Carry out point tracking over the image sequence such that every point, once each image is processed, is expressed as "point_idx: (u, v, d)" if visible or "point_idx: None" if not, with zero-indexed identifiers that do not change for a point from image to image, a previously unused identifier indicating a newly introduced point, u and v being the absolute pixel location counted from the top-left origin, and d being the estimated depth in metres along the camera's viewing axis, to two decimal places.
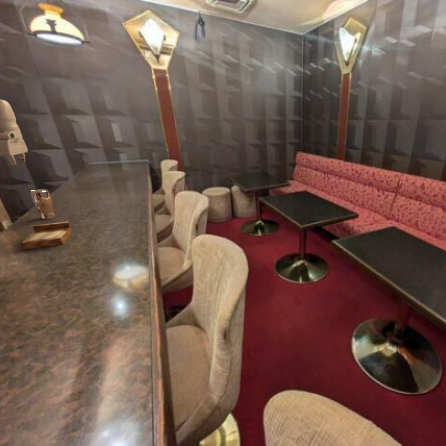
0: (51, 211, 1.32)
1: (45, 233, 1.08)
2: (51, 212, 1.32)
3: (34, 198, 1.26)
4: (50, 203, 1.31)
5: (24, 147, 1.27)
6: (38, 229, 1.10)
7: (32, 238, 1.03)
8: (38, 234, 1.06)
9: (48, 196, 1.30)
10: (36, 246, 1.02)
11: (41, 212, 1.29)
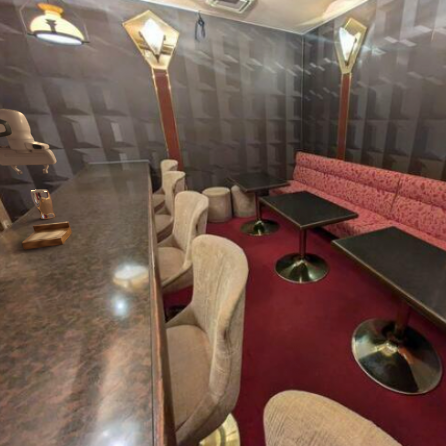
0: (51, 211, 1.32)
1: (45, 233, 1.08)
2: (51, 212, 1.32)
3: (34, 198, 1.26)
4: (50, 203, 1.31)
5: None
6: (38, 229, 1.10)
7: (32, 238, 1.03)
8: (38, 234, 1.06)
9: (48, 196, 1.30)
10: (36, 246, 1.02)
11: (41, 212, 1.29)
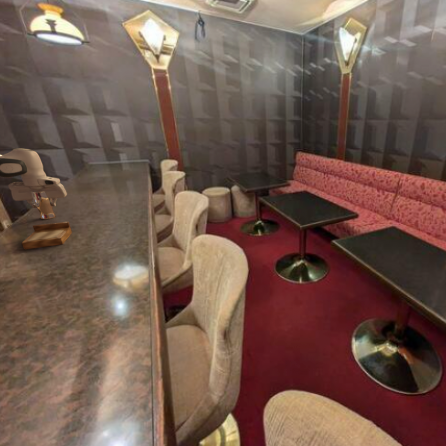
0: (51, 211, 1.32)
1: (45, 233, 1.08)
2: (51, 212, 1.32)
3: (34, 198, 1.26)
4: (50, 203, 1.31)
5: None
6: (38, 229, 1.10)
7: (32, 238, 1.03)
8: (38, 234, 1.06)
9: None
10: (36, 246, 1.02)
11: (41, 212, 1.29)
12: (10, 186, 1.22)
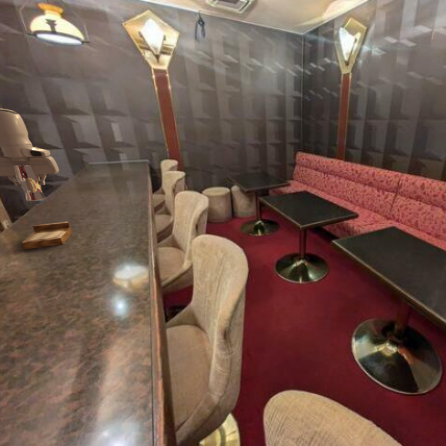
0: (39, 191, 1.06)
1: (45, 233, 1.08)
2: (39, 192, 1.06)
3: (17, 173, 1.00)
4: (38, 181, 1.05)
5: None
6: (38, 229, 1.10)
7: (32, 238, 1.03)
8: (38, 234, 1.06)
9: None
10: (36, 246, 1.02)
11: (26, 192, 1.03)
12: None
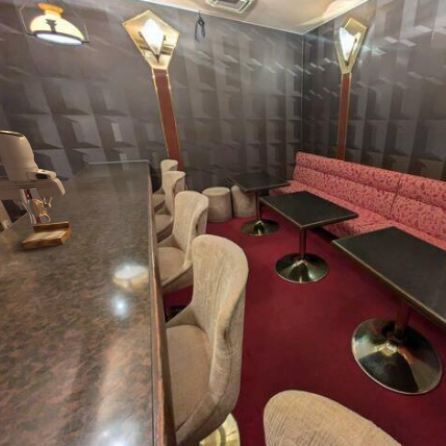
0: (45, 214, 1.03)
1: (45, 233, 1.08)
2: (44, 215, 1.03)
3: (22, 197, 0.97)
4: (43, 203, 1.02)
5: None
6: (38, 229, 1.10)
7: (32, 238, 1.03)
8: (38, 234, 1.06)
9: None
10: (36, 246, 1.02)
11: (31, 215, 1.00)
12: None
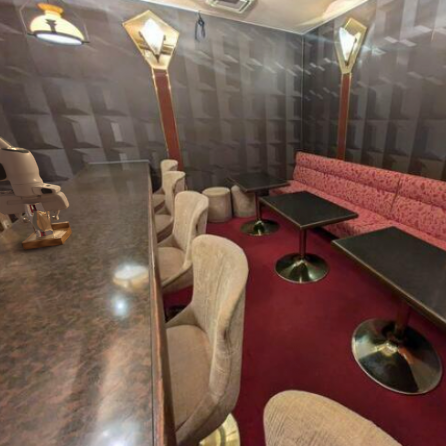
0: (49, 227, 1.05)
1: None
2: (49, 228, 1.05)
3: (27, 211, 0.99)
4: (48, 217, 1.04)
5: None
6: None
7: (32, 238, 1.03)
8: None
9: None
10: (36, 246, 1.02)
11: (37, 229, 1.02)
12: None
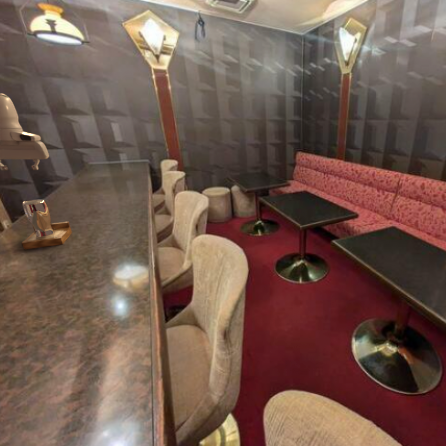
0: (49, 227, 1.05)
1: None
2: (49, 228, 1.05)
3: (27, 211, 0.99)
4: (48, 217, 1.04)
5: None
6: None
7: (32, 238, 1.03)
8: None
9: (45, 208, 1.02)
10: (36, 246, 1.02)
11: (36, 229, 1.02)
12: None
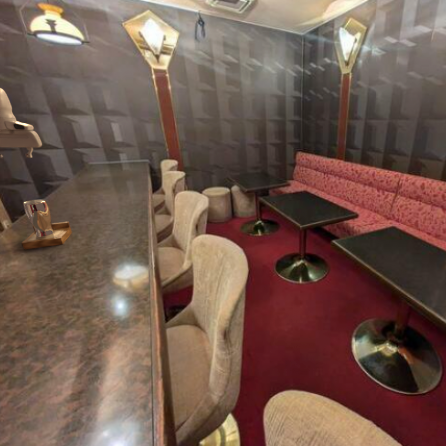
0: (49, 227, 1.05)
1: None
2: (49, 228, 1.05)
3: (28, 211, 0.99)
4: (48, 217, 1.04)
5: None
6: None
7: (32, 238, 1.03)
8: None
9: (46, 208, 1.03)
10: (36, 246, 1.02)
11: (37, 228, 1.02)
12: None
